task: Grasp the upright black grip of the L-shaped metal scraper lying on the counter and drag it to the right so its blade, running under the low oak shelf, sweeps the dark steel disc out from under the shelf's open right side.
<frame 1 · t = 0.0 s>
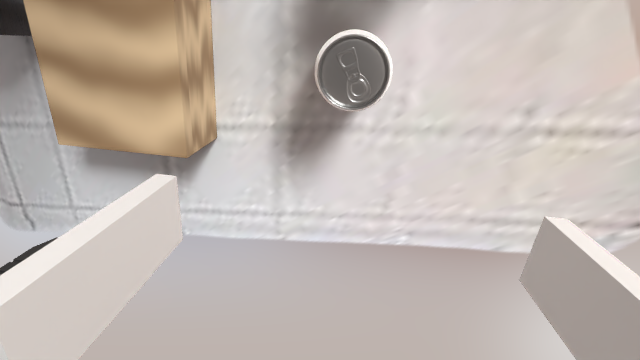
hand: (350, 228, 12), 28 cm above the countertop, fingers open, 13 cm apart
tool: (29, 13, 37), on the countertop
can: (352, 65, 36), on the countertop
shelf: (155, 66, 38), on the countertop
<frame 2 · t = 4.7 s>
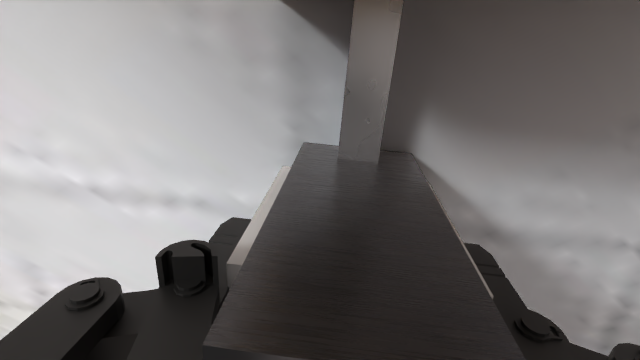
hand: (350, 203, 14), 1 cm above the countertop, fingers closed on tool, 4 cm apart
tool: (350, 196, 14), on the countertop, touching gripper
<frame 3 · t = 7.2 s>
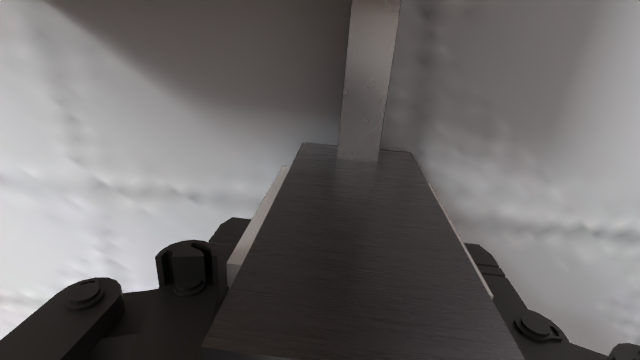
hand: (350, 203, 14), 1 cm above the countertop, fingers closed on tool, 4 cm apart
tool: (350, 196, 14), on the countertop, touching gripper
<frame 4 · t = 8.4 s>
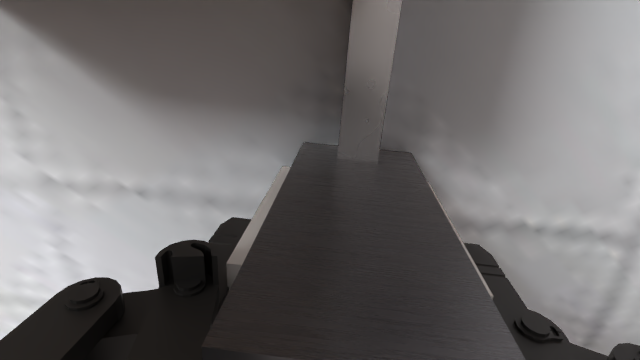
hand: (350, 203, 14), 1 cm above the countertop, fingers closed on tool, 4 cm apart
tool: (350, 196, 14), on the countertop, touching gripper
when the fingers open (1 cm above the countertop, at t = 9.2 s): tool stays where it is, on the countertop.
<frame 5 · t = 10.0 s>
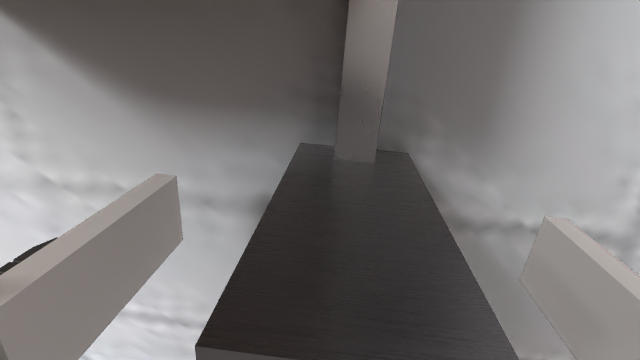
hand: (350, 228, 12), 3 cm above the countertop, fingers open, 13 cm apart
tool: (347, 196, 14), on the countertop
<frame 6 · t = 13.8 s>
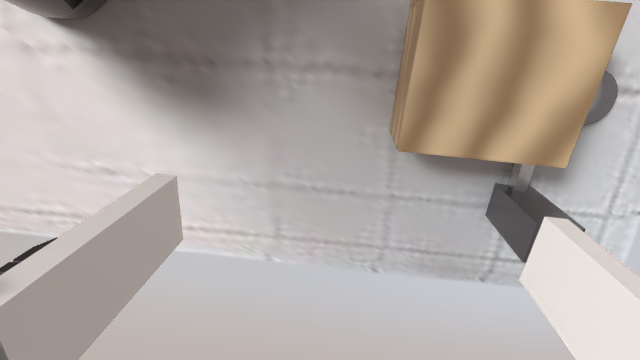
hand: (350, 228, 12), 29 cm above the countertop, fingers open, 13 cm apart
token: (577, 96, 36), on the countertop
tool: (508, 201, 41), on the countertop
shelf: (471, 77, 36), on the countertop
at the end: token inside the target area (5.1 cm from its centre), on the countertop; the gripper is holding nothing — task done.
